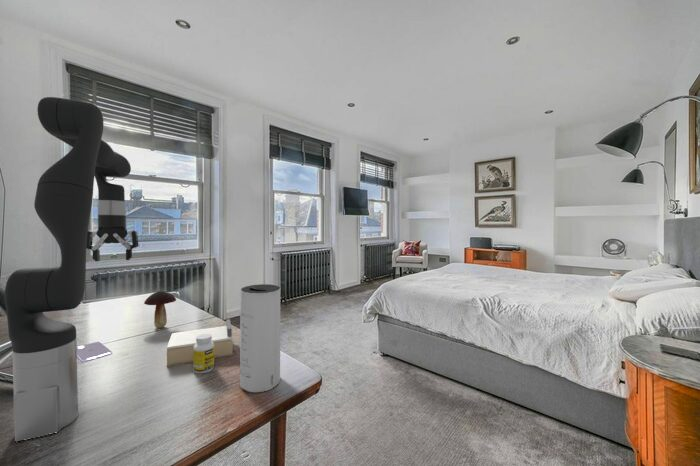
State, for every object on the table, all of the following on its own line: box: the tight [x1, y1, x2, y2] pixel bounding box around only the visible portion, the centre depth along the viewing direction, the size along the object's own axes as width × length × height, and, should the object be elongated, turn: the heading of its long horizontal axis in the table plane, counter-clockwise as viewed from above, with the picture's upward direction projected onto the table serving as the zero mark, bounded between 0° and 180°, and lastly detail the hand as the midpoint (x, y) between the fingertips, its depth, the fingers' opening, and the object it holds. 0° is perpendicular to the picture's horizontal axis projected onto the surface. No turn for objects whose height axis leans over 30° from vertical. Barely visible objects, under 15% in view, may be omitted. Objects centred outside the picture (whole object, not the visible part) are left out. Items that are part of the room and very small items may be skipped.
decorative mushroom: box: [143, 290, 177, 329], centre depth 116 cm, size 11×11×15 cm
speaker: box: [239, 283, 281, 394], centre depth 77 cm, size 11×10×26 cm
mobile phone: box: [77, 341, 113, 363], centre depth 95 cm, size 8×1×15 cm
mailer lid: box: [166, 318, 233, 351], centre depth 94 cm, size 12×18×3 cm, turn 115°
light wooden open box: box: [166, 339, 234, 368], centre depth 94 cm, size 12×18×5 cm, turn 115°
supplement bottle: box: [192, 334, 215, 374], centre depth 84 cm, size 5×5×10 cm
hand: (113, 260), depth 101 cm, fingers open, 8 cm apart
